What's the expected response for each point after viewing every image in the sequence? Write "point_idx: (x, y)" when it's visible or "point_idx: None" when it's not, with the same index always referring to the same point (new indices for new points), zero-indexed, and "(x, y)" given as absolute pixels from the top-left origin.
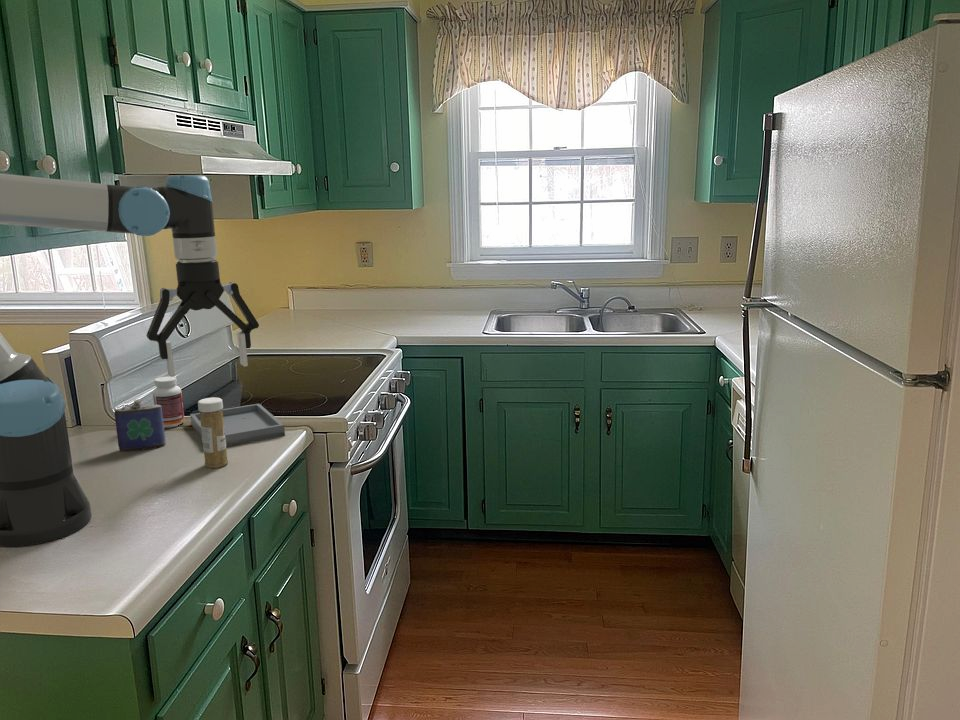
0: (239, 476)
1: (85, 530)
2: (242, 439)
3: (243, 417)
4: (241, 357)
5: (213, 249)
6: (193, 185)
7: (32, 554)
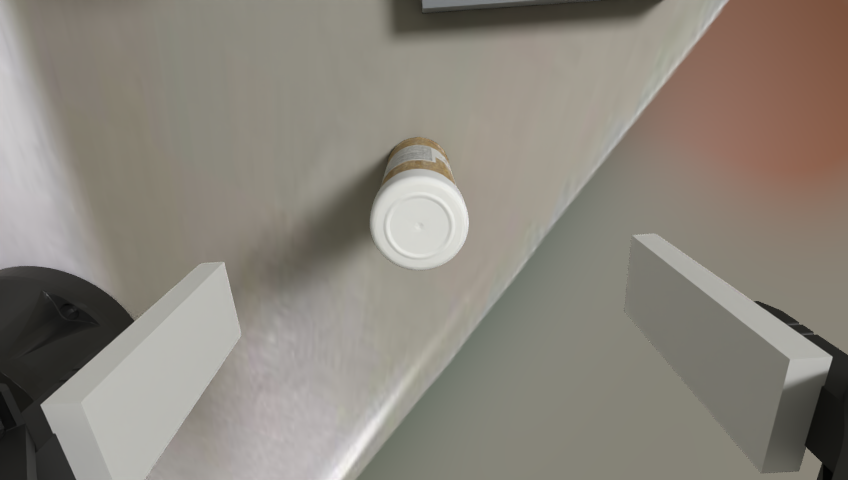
0: (454, 275)
1: None
2: (529, 4)
3: None
4: (650, 299)
5: None
6: None
7: None
